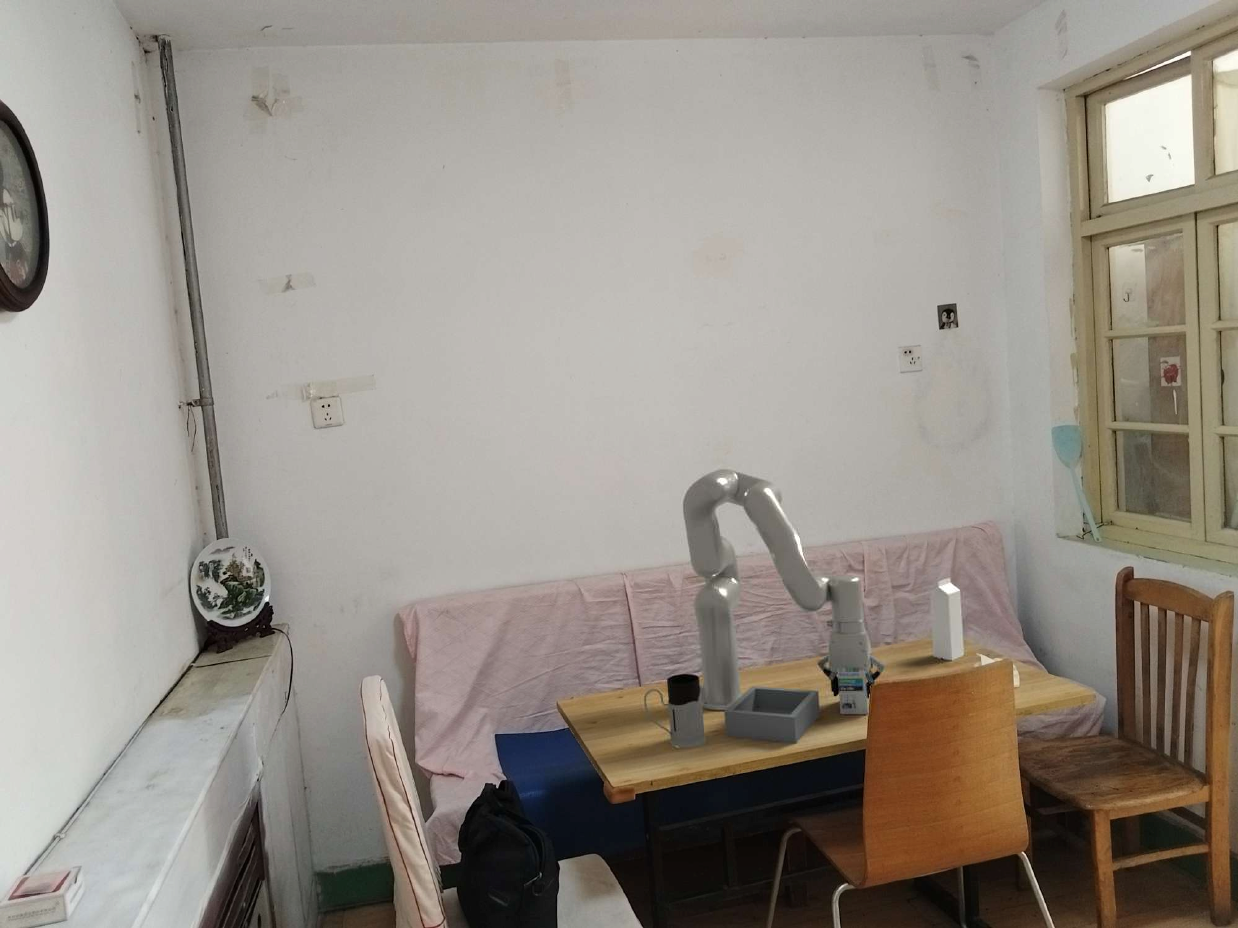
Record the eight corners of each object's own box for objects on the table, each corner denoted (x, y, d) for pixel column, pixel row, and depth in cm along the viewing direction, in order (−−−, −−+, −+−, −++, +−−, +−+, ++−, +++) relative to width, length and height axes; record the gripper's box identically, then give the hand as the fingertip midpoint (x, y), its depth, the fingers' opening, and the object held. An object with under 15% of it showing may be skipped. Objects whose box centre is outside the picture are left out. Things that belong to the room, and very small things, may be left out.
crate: (726, 736, 232) (724, 711, 232) (753, 709, 249) (752, 686, 248) (796, 743, 224) (794, 717, 224) (819, 714, 241) (818, 690, 240)
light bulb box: (868, 714, 238) (865, 671, 237) (839, 714, 240) (837, 671, 239) (867, 700, 248) (864, 658, 247) (840, 700, 250) (837, 658, 249)
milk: (933, 657, 279) (928, 580, 277) (945, 652, 283) (940, 576, 281) (952, 660, 274) (947, 582, 272) (964, 655, 278) (959, 578, 276)
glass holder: (712, 743, 228) (707, 680, 227) (654, 755, 224) (648, 691, 223) (698, 731, 237) (693, 670, 235) (642, 742, 233) (637, 680, 231)
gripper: (809, 628, 243) (814, 698, 245) (880, 631, 235) (885, 703, 236) (818, 620, 250) (823, 688, 251) (887, 623, 242) (892, 693, 243)
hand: (853, 695), depth 244 cm, fingers closed on light bulb box, 7 cm apart
